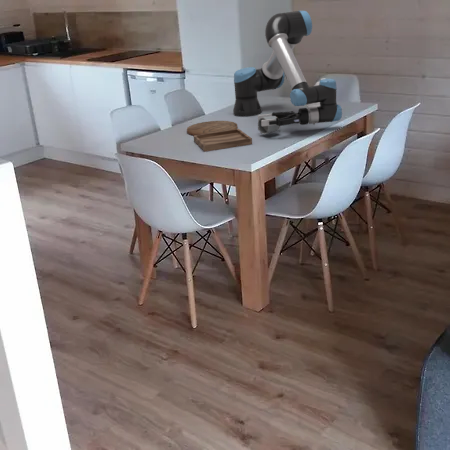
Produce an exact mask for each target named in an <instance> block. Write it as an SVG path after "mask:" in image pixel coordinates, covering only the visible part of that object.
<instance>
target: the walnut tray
mask: <svg viewBox="0 0 450 450" xmlns="http://www.w3.org/2000/svg"><path fill="white" fill-rule="evenodd" d="M193 142H194V143H195V144H196V145H197V146H198V147H199V148H200V149H201V150H202V151H203V152H204V153H205V152H210V151H217V150H218V151H219V150H224V149H229V148H236V147H238V148H239V147H243V146H249V145H253V138H252V137H251V136H249V135H248V134H247V133H245V132H244V131H242V130H241V129H240V128H237V129H234V130H227V131H220V132H214V133H207V134H200V135H194V136H193Z"/></svg>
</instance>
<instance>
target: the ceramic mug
mask: <svg viewBox="0 0 450 450" xmlns="http://www.w3.org/2000/svg"><path fill="white" fill-rule="evenodd" d="M276 118H278V117H276V116H269V117H262V118H260V119H259V121H258V120H257V130H258V131H259V132H260V133H261V135H267V134H268V135H269V134H272V133H274V132H277V131H279V130H280V128H281V126H278V125H271V126H262V125H261V120H268V119H276Z"/></svg>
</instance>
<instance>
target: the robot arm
mask: <svg viewBox="0 0 450 450" xmlns="http://www.w3.org/2000/svg"><path fill="white" fill-rule="evenodd" d="M312 31H313V21H312V18H311V15H310V13H308V11H306V10H296V11H289V12H279V13H276V14H273V15H272V16H271V17H269V19H268V21H267V22H266V26H265V30H264V33H265V35H264V36H265V39H266V42H267V45H268V47H269V48H271V49H272V52H271V54H270V56H269V58H268V60H267V61H265V62H264V63H263V64H262V66H261V68H258V69H257V68H256V67H255V66H254V67H253V66H249V67H244V68H243V67H242V68H240V69H237V70H236V71H234V73H233V84H234V85H233V86H234V97H235V101H234V106H233V111H232V112H233V113H232V114H233V116H236V117H252V116H257V122H258V121H259V119H260V118H262V117H269V116H276V117H278V118H276V119H268V120H261V125H262V126H271V125H278V126H280V127H282V126H287V125H293V124H294V125H295V124H299V125H300V126H301V125H302V126H304V125H308V124H312V125H316V124H319V123H322V124H323V123H332V122H338V121H339V122H340V121H341V120H342V118H343V111H342V110H343V109H342V106H341V105H340V104H338V103H337V89H338V88H337V81H336V79H333V78H325V79H322V78H321V79H322V80H321V79H320V80H319V82H320V83H319V85H317V86H314V85H313V86H310V85H309V84H308V82H307V80H306V78H305V76H304V73H303V71H302V69H301V67H300V65H299V63H298V60H297V58H296V56H295V53H294V51H293V50H294V48H295V47H296V45H298V44H300V43H301V41H302V40H303V38H304V37H305V36H306V37H307V36H311V33H312ZM285 78H286V80H287V82H288V84H289V87H290V90H291V91H290V93H289V99H290V103H291V104H292V105H293V106H294V107H301V108H298V111H297V112H295V111H294V110H293V111H292V110H291V111H278V112H277V111H275V112H272V113H268V114H267V113H266V114H261V113H262V107H261V104H260V101H259V98H258V92H264V91H271V90H276V89H280V88H281V87H282V86H283V85H284V83H285ZM318 102H320V106H319V107H308V109H307V107H302V106H307V104H312V103H318Z"/></svg>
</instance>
